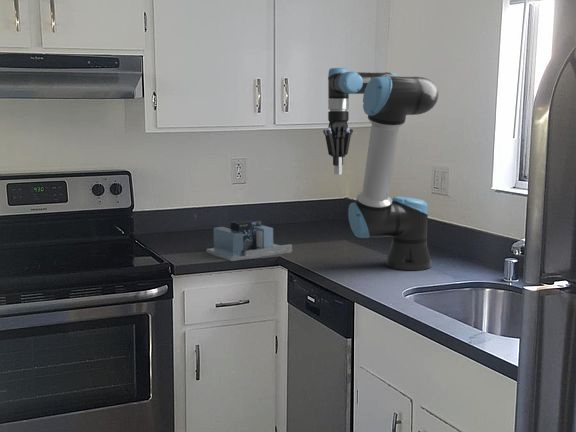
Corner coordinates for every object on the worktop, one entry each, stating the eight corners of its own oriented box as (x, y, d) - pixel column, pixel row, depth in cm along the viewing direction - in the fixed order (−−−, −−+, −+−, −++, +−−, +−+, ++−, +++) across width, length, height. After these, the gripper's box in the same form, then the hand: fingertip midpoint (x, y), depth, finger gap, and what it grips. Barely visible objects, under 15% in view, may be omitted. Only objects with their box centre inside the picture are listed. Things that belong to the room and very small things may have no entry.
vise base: (292, 252, 274) (292, 227, 272) (231, 261, 259) (231, 235, 258) (265, 244, 288) (265, 220, 287) (206, 252, 274) (206, 227, 272)
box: (238, 252, 268) (238, 223, 266) (230, 249, 272) (230, 221, 270) (256, 250, 272) (256, 221, 270) (248, 247, 277) (248, 219, 275)
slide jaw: (273, 249, 271) (273, 223, 270) (262, 251, 269) (262, 224, 267) (252, 243, 283) (252, 218, 281) (242, 244, 280) (242, 219, 279)
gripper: (344, 110, 282) (344, 172, 285) (318, 110, 274) (318, 174, 277) (358, 110, 276) (357, 174, 279) (331, 110, 268) (331, 176, 272)
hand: (338, 174), depth 278 cm, fingers closed
